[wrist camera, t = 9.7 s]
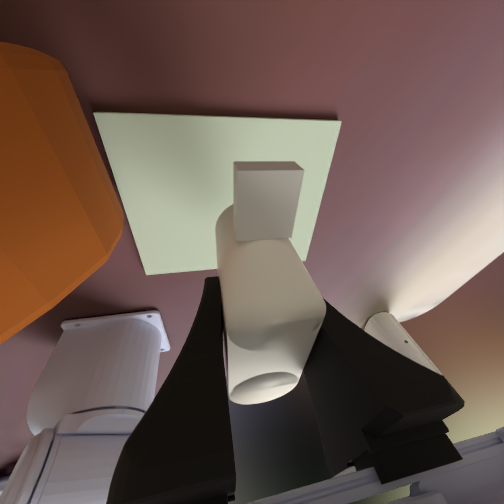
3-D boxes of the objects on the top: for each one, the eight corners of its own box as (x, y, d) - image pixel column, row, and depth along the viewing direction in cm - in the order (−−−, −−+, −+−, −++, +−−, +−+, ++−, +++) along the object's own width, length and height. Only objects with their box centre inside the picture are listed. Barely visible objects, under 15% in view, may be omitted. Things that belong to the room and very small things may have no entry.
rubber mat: (147, 271, 21) (146, 274, 21) (96, 111, 13) (93, 112, 13) (303, 257, 24) (305, 260, 24) (338, 120, 16) (341, 121, 16)
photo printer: (367, 314, 34) (433, 404, 25) (393, 308, 35) (467, 395, 25) (353, 347, 41) (401, 430, 31) (374, 342, 41) (428, 422, 32)
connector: (219, 313, 15) (229, 409, 11) (210, 143, 9) (223, 210, 4) (265, 308, 16) (292, 396, 11) (288, 144, 9) (370, 204, 5)
